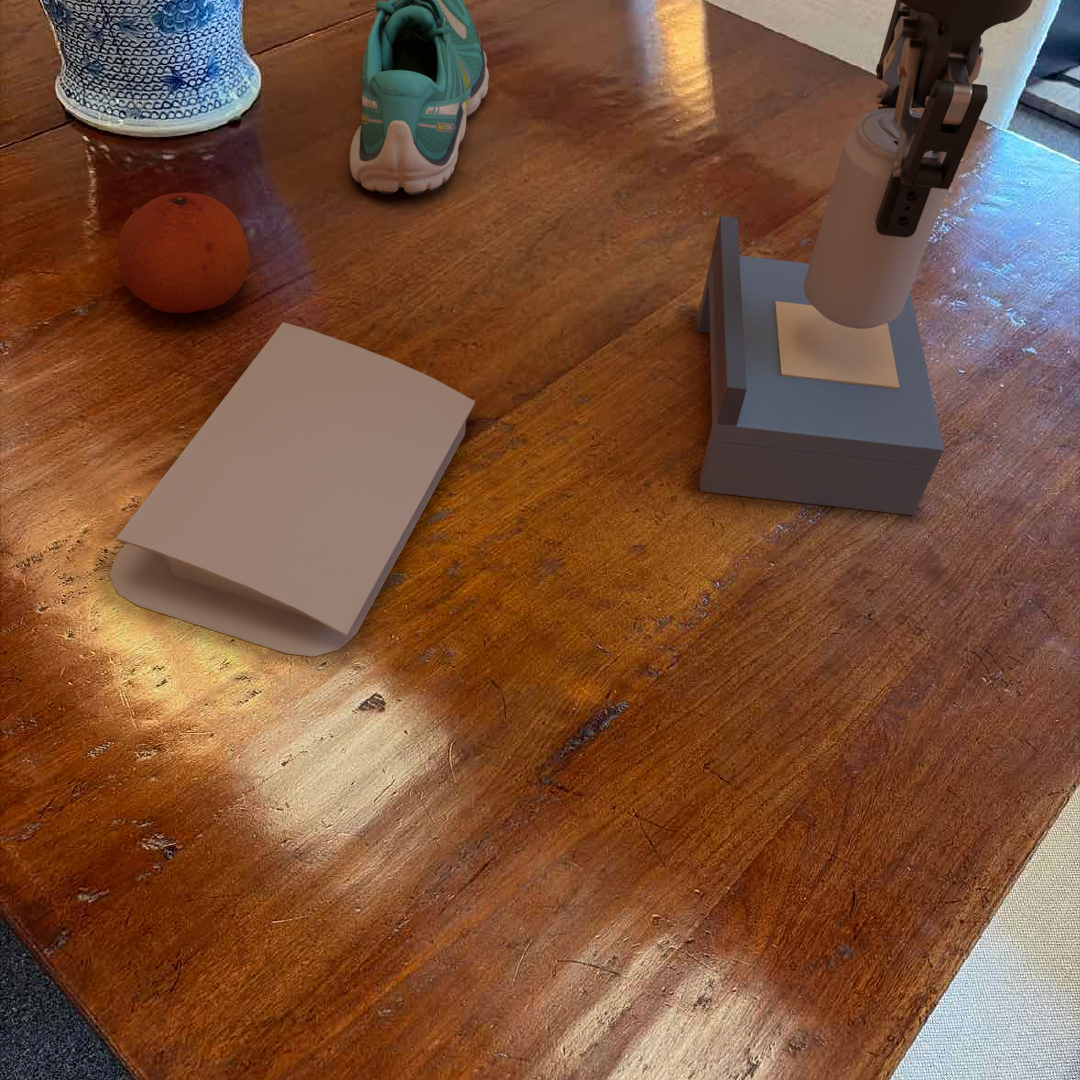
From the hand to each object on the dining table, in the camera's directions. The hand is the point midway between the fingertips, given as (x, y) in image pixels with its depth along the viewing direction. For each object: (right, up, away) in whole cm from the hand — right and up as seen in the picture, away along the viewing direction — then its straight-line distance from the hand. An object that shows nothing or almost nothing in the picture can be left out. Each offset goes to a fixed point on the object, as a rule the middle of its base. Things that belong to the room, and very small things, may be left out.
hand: (886, 198), depth 70 cm
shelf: (-2, -11, +13) cm, 17 cm away
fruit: (-46, -3, +16) cm, 49 cm away
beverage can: (-1, -5, +6) cm, 8 cm away
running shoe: (-31, +17, +35) cm, 49 cm away
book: (-35, -17, +4) cm, 40 cm away
